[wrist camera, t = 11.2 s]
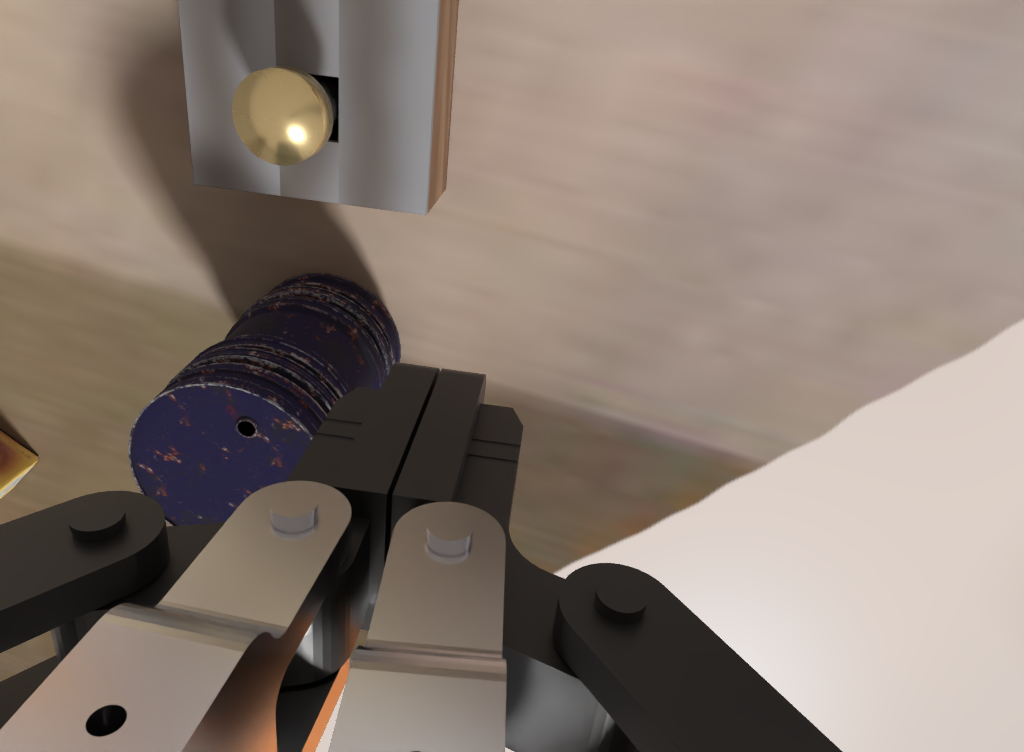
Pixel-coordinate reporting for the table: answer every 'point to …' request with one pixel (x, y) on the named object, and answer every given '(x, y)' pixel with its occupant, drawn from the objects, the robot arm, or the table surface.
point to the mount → (362, 95)
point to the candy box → (13, 463)
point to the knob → (285, 113)
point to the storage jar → (259, 396)
